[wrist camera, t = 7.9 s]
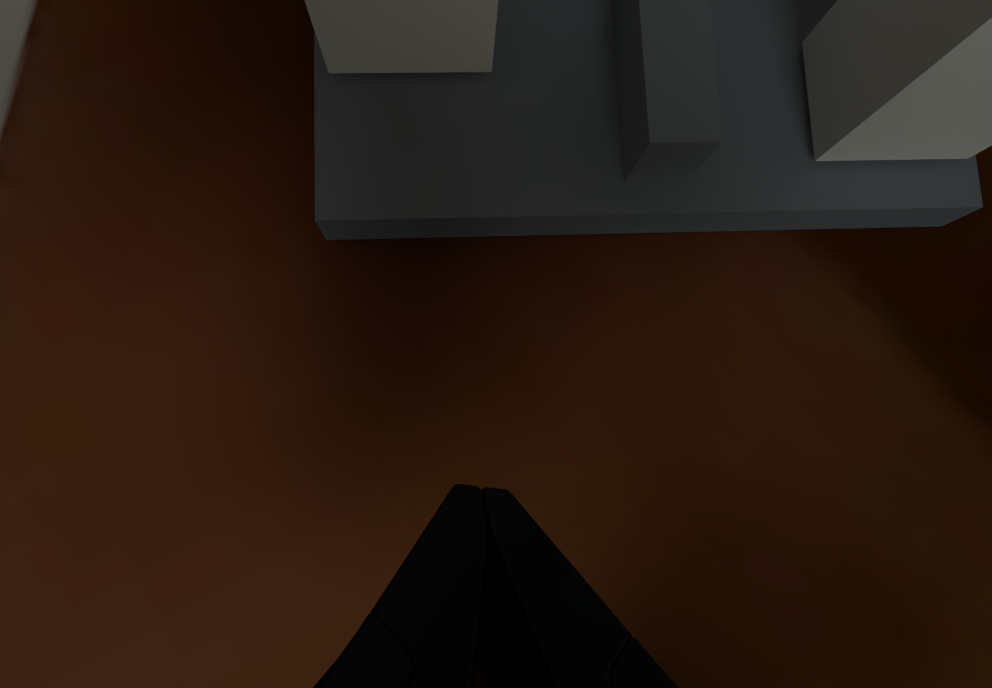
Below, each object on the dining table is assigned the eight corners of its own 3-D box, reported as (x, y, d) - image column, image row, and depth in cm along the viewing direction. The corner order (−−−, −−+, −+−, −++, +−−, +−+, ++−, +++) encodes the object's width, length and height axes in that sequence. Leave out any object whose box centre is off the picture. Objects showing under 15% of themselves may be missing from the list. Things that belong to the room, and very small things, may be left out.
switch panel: (941, 226, 25) (1069, 166, 20) (326, 240, 24) (289, 180, 19) (899, -87, 27) (1007, -218, 22) (324, -90, 26) (290, -230, 20)
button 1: (968, 158, 23) (1291, -27, 14) (814, 161, 23) (1045, -27, 14) (951, 41, 24) (1251, -207, 15) (802, 42, 23) (1015, -211, 14)
